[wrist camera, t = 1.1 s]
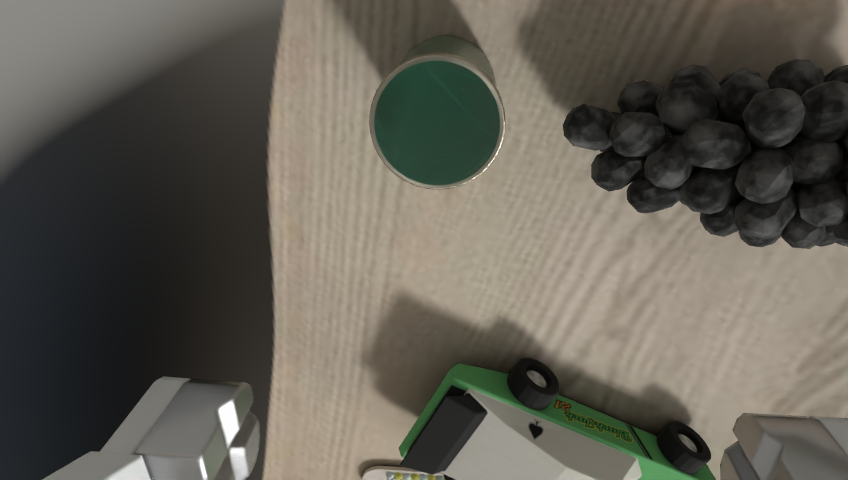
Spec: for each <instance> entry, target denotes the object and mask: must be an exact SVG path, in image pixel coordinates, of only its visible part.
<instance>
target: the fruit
mask: <svg viewBox="0 0 848 480" xmlns="http://www.w3.org/2000/svg"><path fill="white" fill-rule="evenodd" d="M617 104H618V106H619V108H620V111H621V113H622V114H621V113H614V112H609V111H608V110H605V109H601V108H598V107H594V106H590V105H587V104H582V105H580V106H577V107H575V108H573V109H572V110H571V111H570V112H569V113H568V115H567V117H566V119H565V121H564V124H563V130H564V136H565V137H566V138H567V139H568V140H569V141H570V143H571V144H572V145H573V146H577V147H582V148H586V149H591V150H600V151H602V153H600V154H598V155H597V156H596V158H595V159H594V161H593V163H592V165H591V177H592V179H593V180H594V182H595V183H596V184H597V185H598V186H600V187H601V188H603V189H605V190H607V191H614V190H619V189H622V188H623V187H625V186H626V185H628V184H630V183H631V182H632V183H631V184H630V186H629V187H628V189H627V200H628V202H629V203H630V204H631V205H632V206H633V207H634V208H635V209H636V210H637V211H638V212H640V213H651V212H655V211H659V210H662V209H665V208H669V207H672V206H673V205H674V204H675V203H676V202H678V201H680V202H681V203H682V204H685V205H687V206H688V207H689V208H690V209H691V210H692V211H694V212H699V213H701V214H700V221H701V223H702V224H703V226H704V228H705V230H707V231H708V232H709V233H710V234H714V235H718V236H723V237H724V236H727V235H730V234H732V233H734V232H737V231H738V230H739V235H740V237H741V239H742V240H743V241H744V242H745V243H747V244H748V245H750V246H755V247H764V246H767V245H770V244H773V243H775V242H776V241H777V240H778V239H779V238H780V237H781V236H782V238H783V239H784V240H785V241H786V242H787V243H788V244H789V245H790V246H792V247H794V248H805V249H810V248H812V247H814V246H815V245H816V246H820V247H822V246H826V245H830V244H833V243H838V244H840V245H843V246H847V247H848V65H845V66H841V67H838V68H836V69H834V70H833V71H831V72H830V73H829V74H827V75H826V76H824V74H823V70H822V69H821V68H820V67H818V66H817V65H815V64H814V63H813V62H811V61H810V60H798V59H794V60H792V61H789V62H787V63H784V64H782V65H779V66H777V67H776V68H775V70H774V71H773V72H772V74H771V75H770V77H769V79H768V81H767V80H765V79H763V78H762V77H761V76H760V74H759V73H757V72H753V71H749V70H745V69H742V70H739V71H737V72H734V73H731V74H729V75H726V76H725V77H724V79H723V80H722V81H721V82H720V83H718V82H717V81H716V79H715V78H714V77H713V75H712V74H711V73H710V71H709V70H708V69H707V67H705V66H696V65H691V66H688V67H685V68H683V69H680V70H679V71H678V72H677V73H676V74H675V76H674V77H673V79H672V80H671V82H670V84H669V85H668V86H667V87H666V88H661V87H659V86H657V85H655V84H653V83H650V82H648V81H646V80H641V81H638V82H634V83H631V84H627V85H626V87H625V88H624V89H623V91H622V92H621V94H620V97H619V100H618V103H617ZM719 119H720V121H719ZM671 132H672V134H673V136H671V137H670V133H671ZM750 141H751V142H752V143H754V144H752V143H750Z"/></svg>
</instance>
